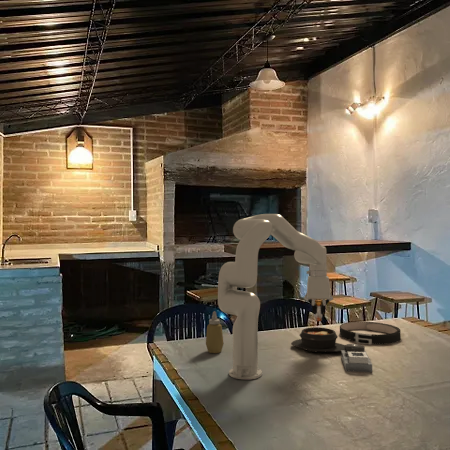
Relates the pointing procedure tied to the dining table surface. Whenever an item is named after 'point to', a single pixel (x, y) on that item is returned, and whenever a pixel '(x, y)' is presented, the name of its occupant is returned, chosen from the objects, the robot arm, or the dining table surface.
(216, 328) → the squeeze bottle
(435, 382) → the dining table surface
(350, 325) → the belt
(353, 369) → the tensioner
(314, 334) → the casserole
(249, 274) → the robot arm
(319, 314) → the orange and grey cylinder
